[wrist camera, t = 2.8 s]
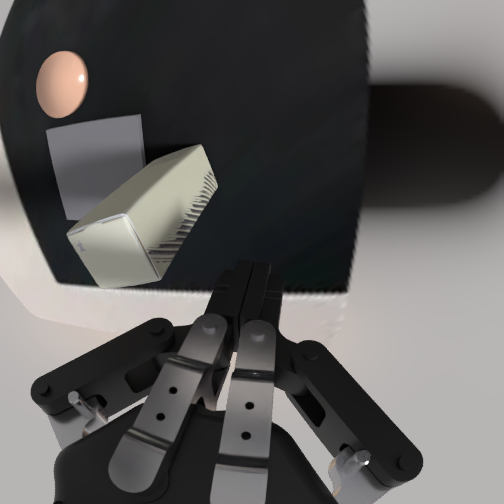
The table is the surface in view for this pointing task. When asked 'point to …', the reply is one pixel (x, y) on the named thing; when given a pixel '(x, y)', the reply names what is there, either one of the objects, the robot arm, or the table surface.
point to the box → (145, 220)
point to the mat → (95, 160)
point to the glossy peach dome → (62, 84)
